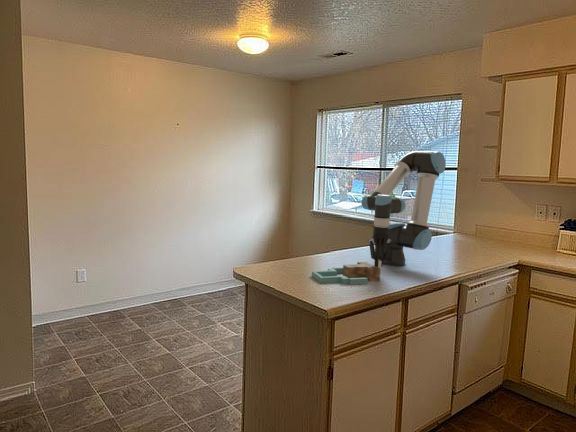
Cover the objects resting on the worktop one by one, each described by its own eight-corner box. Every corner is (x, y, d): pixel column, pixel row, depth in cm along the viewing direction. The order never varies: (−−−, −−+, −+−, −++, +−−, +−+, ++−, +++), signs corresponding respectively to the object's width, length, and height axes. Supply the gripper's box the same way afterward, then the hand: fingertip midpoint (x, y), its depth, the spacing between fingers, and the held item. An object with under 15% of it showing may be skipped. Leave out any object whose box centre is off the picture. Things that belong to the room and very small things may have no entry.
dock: (347, 271, 220) (347, 267, 220) (367, 283, 200) (367, 278, 200) (308, 273, 213) (308, 268, 213) (324, 286, 194) (325, 280, 193)
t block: (365, 273, 219) (366, 261, 219) (379, 280, 206) (380, 268, 206) (338, 274, 215) (339, 262, 214) (351, 282, 202) (352, 269, 201)
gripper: (388, 225, 216) (385, 270, 219) (365, 225, 212) (362, 271, 215) (397, 227, 209) (393, 274, 212) (373, 227, 205) (369, 275, 208)
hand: (377, 273), depth 213 cm, fingers closed
